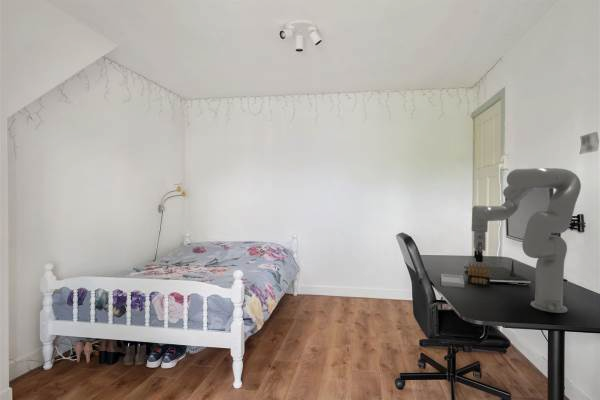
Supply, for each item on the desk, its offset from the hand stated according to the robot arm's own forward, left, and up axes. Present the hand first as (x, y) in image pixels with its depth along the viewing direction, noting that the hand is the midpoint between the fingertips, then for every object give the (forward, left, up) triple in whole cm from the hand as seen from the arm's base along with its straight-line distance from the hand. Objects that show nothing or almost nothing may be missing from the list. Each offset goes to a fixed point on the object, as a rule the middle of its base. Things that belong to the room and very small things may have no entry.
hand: (478, 260), depth 177 cm
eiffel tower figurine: (+15, -18, -14) cm, 28 cm away
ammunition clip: (0, 0, -14) cm, 14 cm away
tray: (-1, +13, -13) cm, 18 cm away
